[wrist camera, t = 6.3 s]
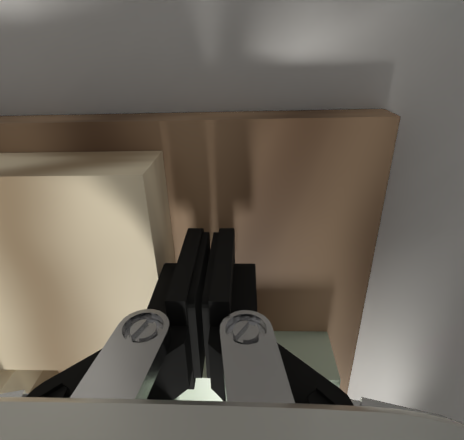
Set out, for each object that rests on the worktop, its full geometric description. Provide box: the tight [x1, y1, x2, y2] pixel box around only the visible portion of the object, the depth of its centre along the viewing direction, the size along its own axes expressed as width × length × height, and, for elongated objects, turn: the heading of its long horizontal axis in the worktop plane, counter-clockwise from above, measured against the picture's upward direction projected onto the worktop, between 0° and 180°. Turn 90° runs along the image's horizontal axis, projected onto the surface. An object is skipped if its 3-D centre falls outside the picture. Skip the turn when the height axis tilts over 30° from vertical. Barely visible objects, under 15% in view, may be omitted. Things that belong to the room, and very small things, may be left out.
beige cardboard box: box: [0, 151, 176, 371], centre depth 13 cm, size 7×8×2 cm
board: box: [0, 109, 400, 394], centre depth 14 cm, size 22×18×6 cm
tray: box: [179, 331, 341, 401], centre depth 16 cm, size 9×8×2 cm
